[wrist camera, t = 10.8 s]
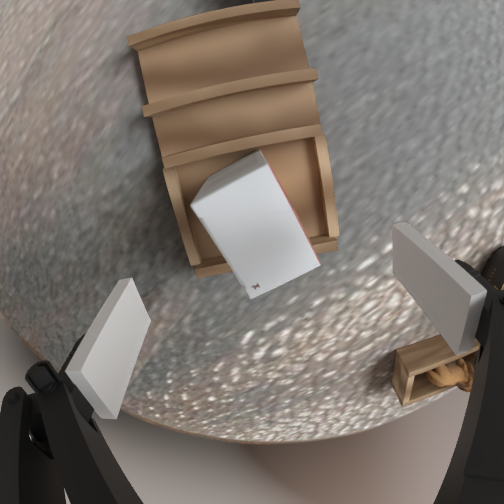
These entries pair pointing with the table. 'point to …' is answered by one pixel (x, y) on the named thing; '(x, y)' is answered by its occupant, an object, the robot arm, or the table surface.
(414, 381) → the open wooden box
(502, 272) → the jar
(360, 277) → the table surface
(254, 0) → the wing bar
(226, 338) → the table surface
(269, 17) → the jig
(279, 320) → the table surface
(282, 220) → the small box
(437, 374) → the lion figurine
